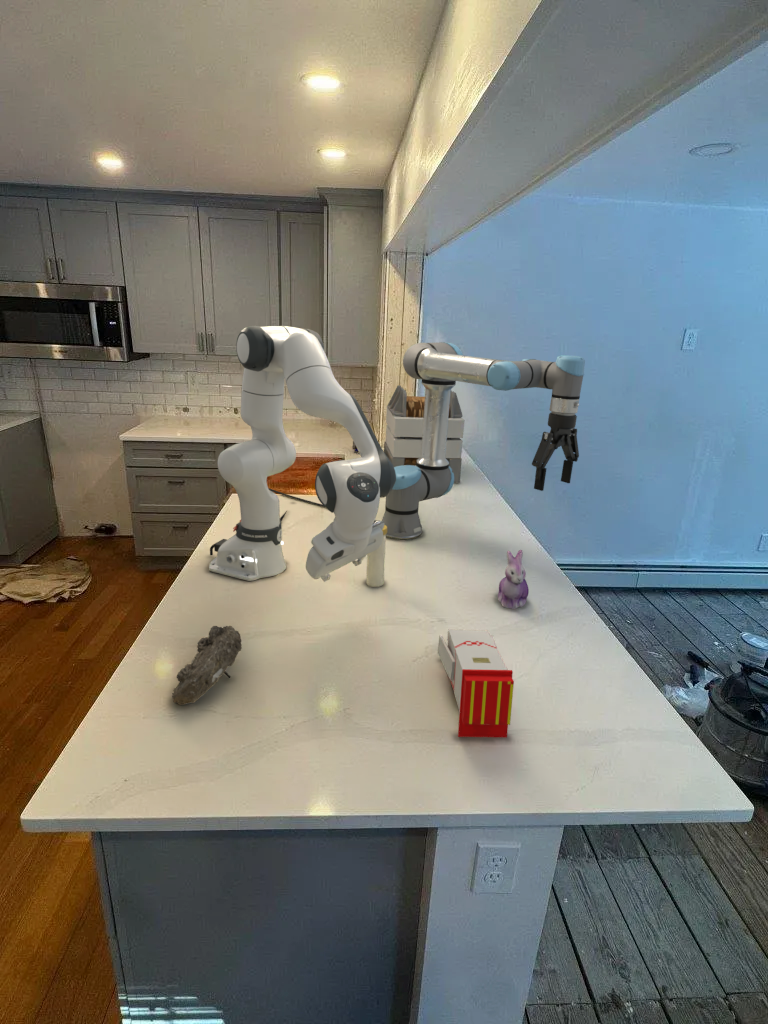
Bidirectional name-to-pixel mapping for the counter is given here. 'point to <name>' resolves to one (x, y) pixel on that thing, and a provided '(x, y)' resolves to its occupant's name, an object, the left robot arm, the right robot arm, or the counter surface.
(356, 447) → the figurine character
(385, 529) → the lid
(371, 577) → the jar
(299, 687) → the counter surface
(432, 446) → the right robot arm
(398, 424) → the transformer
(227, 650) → the fossil
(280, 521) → the feather
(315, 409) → the left robot arm
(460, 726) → the toy
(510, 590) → the figurine
